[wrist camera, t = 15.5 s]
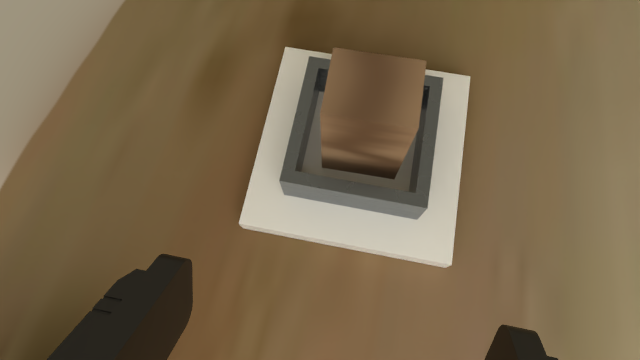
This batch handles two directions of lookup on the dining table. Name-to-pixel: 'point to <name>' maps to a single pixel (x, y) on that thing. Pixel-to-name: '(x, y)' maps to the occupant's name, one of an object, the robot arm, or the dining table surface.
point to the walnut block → (370, 111)
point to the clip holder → (352, 188)
